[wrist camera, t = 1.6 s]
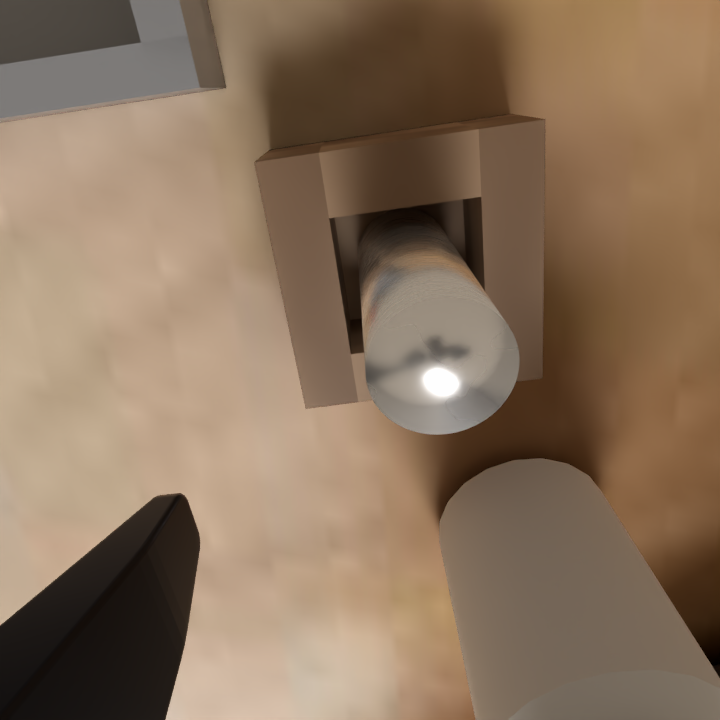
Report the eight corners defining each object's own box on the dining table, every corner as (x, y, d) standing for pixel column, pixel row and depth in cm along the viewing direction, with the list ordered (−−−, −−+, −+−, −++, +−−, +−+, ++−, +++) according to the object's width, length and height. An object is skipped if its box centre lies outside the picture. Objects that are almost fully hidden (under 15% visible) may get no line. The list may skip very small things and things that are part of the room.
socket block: (311, 363, 22) (305, 408, 19) (269, 149, 18) (254, 162, 15) (514, 336, 22) (542, 378, 19) (510, 114, 18) (545, 118, 15)
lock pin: (364, 302, 20) (375, 443, 12) (351, 214, 19) (355, 308, 11) (451, 290, 20) (520, 424, 12) (445, 201, 19) (518, 286, 11)
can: (485, 423, 23) (602, 707, 13) (631, 477, 25) (849, 775, 14) (408, 546, 26) (450, 863, 16) (543, 589, 28) (667, 906, 17)
